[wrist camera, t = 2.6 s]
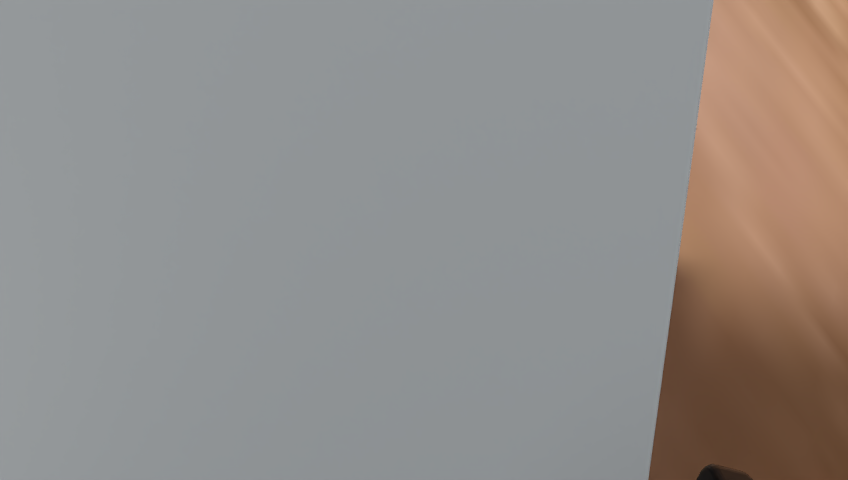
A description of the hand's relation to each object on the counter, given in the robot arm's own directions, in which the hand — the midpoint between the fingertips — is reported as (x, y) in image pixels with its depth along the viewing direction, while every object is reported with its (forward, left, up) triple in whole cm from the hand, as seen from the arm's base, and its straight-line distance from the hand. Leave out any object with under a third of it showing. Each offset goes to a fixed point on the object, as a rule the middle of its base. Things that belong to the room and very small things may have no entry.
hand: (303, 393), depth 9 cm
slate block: (0, -1, -9) cm, 9 cm away
